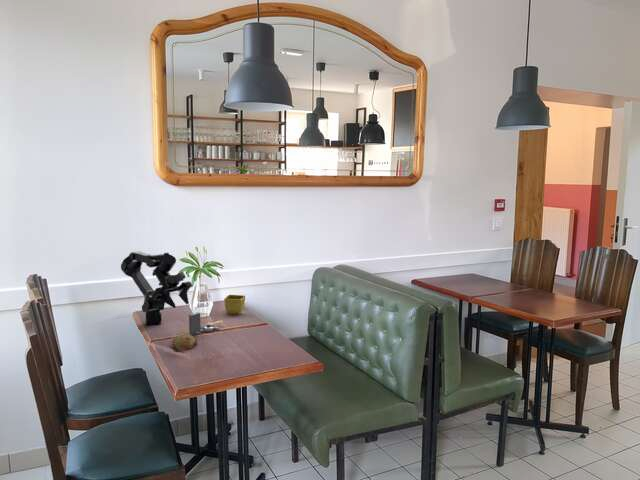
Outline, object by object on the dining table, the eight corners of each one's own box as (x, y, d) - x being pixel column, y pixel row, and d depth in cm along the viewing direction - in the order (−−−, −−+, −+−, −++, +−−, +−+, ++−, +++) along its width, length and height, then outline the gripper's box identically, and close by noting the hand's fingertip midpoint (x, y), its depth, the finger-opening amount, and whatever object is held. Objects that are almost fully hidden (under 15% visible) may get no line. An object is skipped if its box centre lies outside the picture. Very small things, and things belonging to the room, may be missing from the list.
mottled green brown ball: (169, 358, 203) (163, 343, 199) (183, 340, 211) (177, 326, 207) (190, 361, 200) (184, 346, 195) (203, 343, 208) (198, 329, 203)
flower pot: (245, 312, 256) (245, 295, 255) (241, 317, 248) (241, 299, 246) (228, 311, 257) (228, 294, 256) (224, 316, 249) (223, 298, 247)
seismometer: (215, 322, 234) (215, 304, 232) (229, 326, 229) (229, 307, 227) (183, 333, 218) (183, 313, 217) (197, 337, 213) (197, 316, 212)
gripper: (155, 270, 214) (172, 299, 209) (189, 263, 229) (206, 291, 225) (144, 285, 219) (161, 314, 215) (178, 278, 235) (194, 305, 230)
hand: (181, 305), depth 221 cm, fingers open, 7 cm apart
